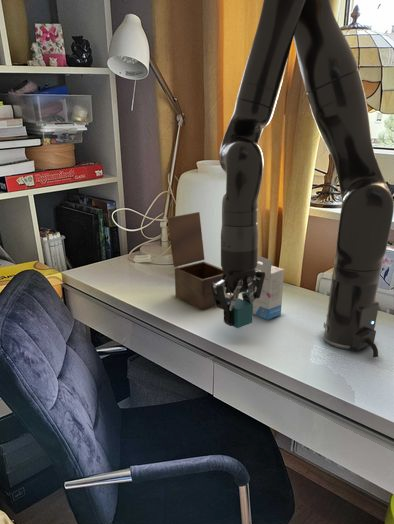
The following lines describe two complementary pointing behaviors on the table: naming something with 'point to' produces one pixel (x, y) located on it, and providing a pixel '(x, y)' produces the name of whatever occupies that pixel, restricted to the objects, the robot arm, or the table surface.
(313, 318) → the table surface
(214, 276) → the chest
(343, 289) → the robot arm
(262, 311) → the ink box
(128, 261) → the table surface
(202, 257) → the chest lid
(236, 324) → the block
